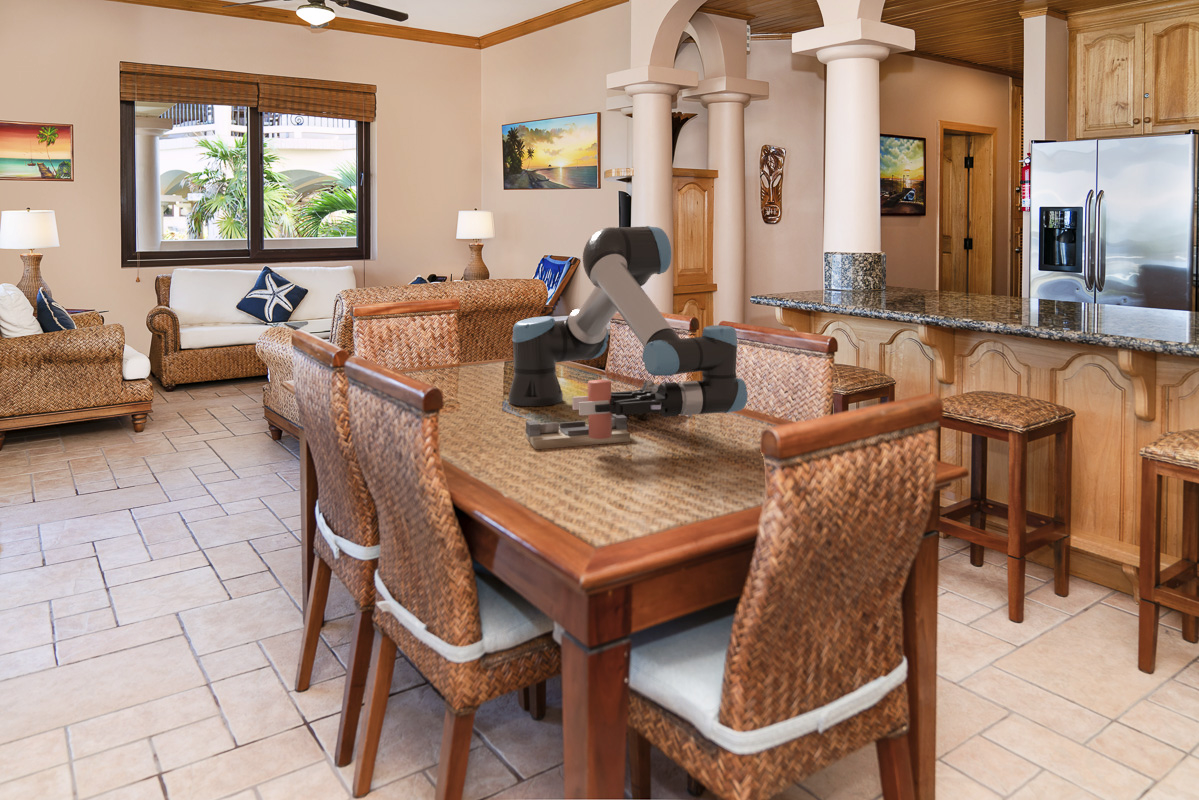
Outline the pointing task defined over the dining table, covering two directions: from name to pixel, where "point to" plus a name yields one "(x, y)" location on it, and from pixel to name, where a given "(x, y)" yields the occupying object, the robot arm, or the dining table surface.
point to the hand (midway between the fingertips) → (576, 406)
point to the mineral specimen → (650, 386)
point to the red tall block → (599, 422)
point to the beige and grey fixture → (572, 433)
